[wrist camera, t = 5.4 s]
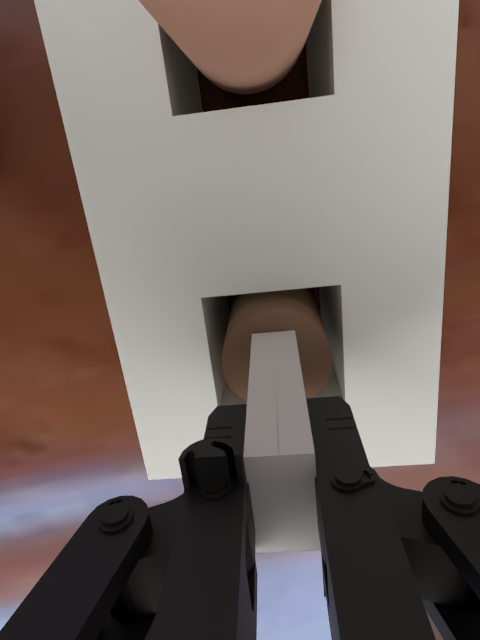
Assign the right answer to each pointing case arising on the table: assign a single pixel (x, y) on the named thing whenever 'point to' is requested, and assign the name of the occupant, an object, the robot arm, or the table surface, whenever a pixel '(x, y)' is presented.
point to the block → (267, 209)
